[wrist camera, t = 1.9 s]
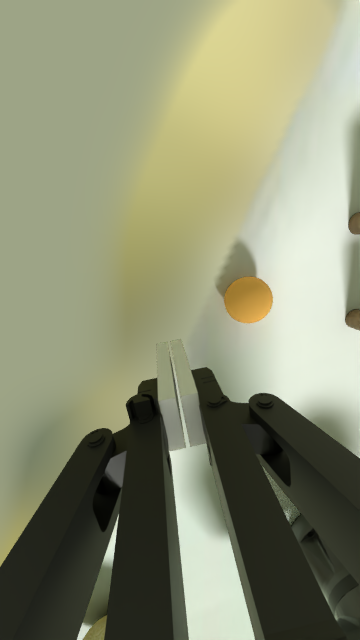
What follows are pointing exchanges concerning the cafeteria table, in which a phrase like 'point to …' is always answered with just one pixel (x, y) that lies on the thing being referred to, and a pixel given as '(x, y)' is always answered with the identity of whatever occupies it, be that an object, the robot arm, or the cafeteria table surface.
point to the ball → (248, 299)
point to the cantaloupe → (97, 630)
